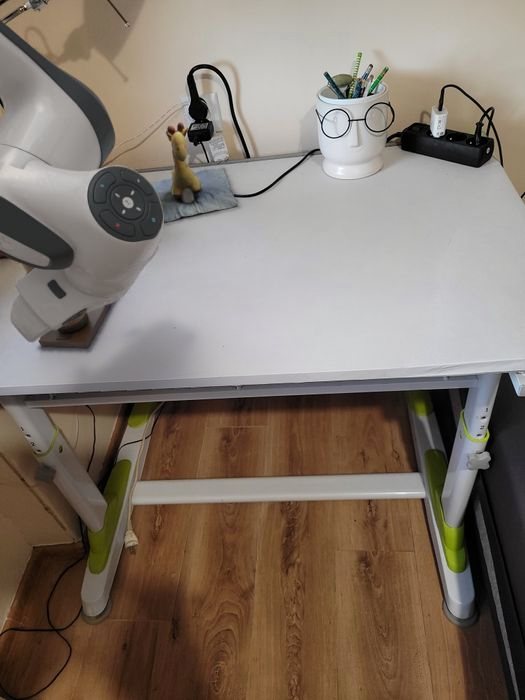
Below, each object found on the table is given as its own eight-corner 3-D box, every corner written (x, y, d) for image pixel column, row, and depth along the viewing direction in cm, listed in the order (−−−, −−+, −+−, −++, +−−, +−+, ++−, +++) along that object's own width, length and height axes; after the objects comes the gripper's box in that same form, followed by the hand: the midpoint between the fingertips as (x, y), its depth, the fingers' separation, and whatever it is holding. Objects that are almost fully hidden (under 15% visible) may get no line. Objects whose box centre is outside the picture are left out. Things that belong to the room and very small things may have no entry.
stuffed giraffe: (159, 223, 101) (138, 142, 90) (153, 185, 114) (134, 110, 103) (237, 208, 102) (227, 127, 92) (223, 172, 115) (212, 97, 105)
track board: (88, 348, 78) (85, 342, 77) (41, 346, 79) (37, 340, 78) (158, 217, 103) (156, 211, 102) (121, 218, 104) (119, 212, 103)
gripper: (147, 201, 63) (123, 244, 75) (1, 290, 53) (1, 323, 65) (180, 242, 64) (151, 278, 76) (42, 337, 54) (34, 361, 66)
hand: (81, 300), depth 71 cm, fingers open, 8 cm apart
